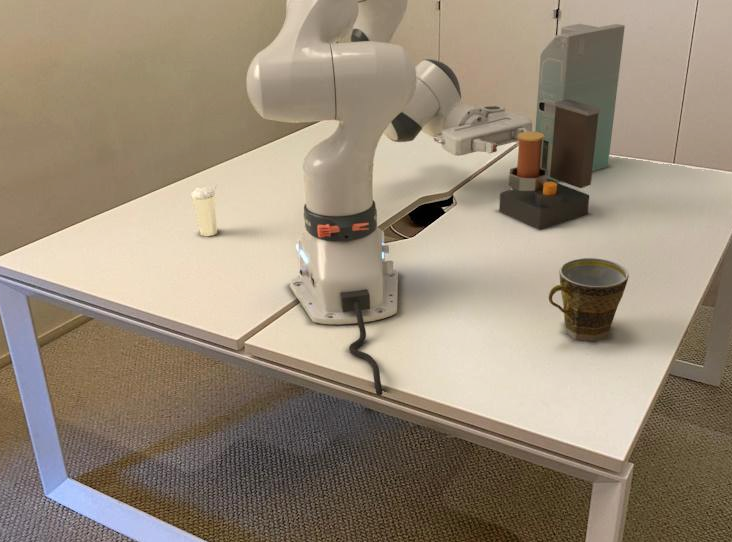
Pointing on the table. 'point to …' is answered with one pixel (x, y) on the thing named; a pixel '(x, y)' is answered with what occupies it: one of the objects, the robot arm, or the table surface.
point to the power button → (549, 188)
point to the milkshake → (205, 210)
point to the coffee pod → (529, 154)
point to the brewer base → (544, 205)
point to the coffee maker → (567, 148)
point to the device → (580, 82)
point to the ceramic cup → (590, 296)
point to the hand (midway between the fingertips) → (512, 143)
